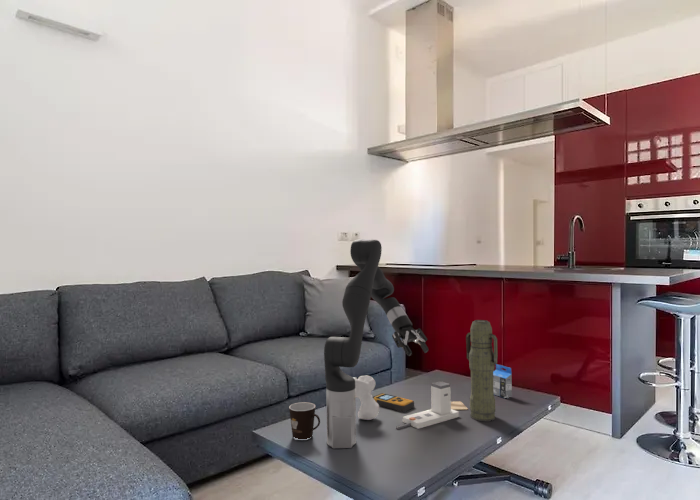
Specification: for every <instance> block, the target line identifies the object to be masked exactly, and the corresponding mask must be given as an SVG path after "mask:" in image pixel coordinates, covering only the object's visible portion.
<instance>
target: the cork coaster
mask: <svg viewBox="0 0 700 500" xmlns="http://www.w3.org/2000/svg"><path fill="white" fill-rule="evenodd" d="M451 409H453V410H455V411H467V410H469V408H468V407H467V406H466V405H465V404H464V403H463V402H462V401H460V400H458V401H457V400H456V401H454V400H453V401H451Z"/></svg>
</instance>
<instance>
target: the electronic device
mask: <svg viewBox="0 0 700 500" xmlns="http://www.w3.org/2000/svg"><path fill="white" fill-rule="evenodd" d="M372 397H373V399H374V400H375V401H376V403H378V405H379V407H383V408H386V409H389V410H394V411H398V412H401V413H405V412H407V411H409V410H412V409H414V408H415V401H414V400H412V399H408V398H403V397H401V396H397V395H392V394H388V393H384V392H381V393H379V394H376V395H372Z"/></svg>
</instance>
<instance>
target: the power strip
mask: <svg viewBox="0 0 700 500" xmlns="http://www.w3.org/2000/svg"><path fill="white" fill-rule="evenodd" d="M456 418H460V411H459V410H453V409H451V413H449V414H445V415H442V416H441V415H438V414H436V413H433V412H431V408H430V409H427V410H421V411H418V412H416V413H412V414H411V413H410V414H407V415H404V416H402V422H403V423H404V424H401V425H398V426H396V428H395V429H396V430H400V429H403V428H404V429H405V428H408V427H413V428H414V429H415V428H416V429H423V428H425V427H430V426H433V425H437V424H439V423H444V422H446V421H449V420H453V419H456Z"/></svg>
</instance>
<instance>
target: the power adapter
mask: <svg viewBox="0 0 700 500" xmlns="http://www.w3.org/2000/svg"><path fill="white" fill-rule="evenodd" d="M430 385H431V386H430V394H431V395H430V404H431V405H430V409H431V412H433V413H436V414H438V415H441V416H442V415H445V414H449V413H451V402H452V400H451V399H452V398H451V395H452V394H451V391H452V388H451V383H448V382H444V381H441V380H440V381H436V382H431V384H430Z"/></svg>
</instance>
